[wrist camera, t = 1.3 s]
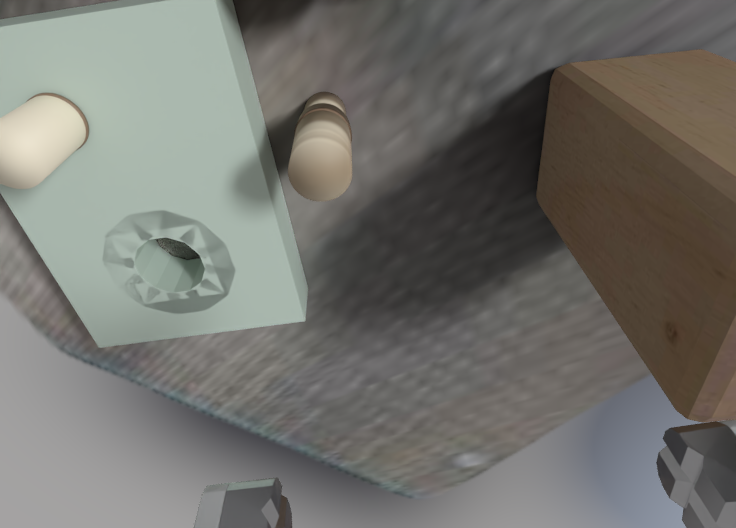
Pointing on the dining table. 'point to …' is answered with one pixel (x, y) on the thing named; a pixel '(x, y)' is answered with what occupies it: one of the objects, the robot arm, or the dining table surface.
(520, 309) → the dining table surface
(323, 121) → the peg
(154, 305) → the board
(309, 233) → the dining table surface
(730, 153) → the wooden block
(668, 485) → the robot arm
